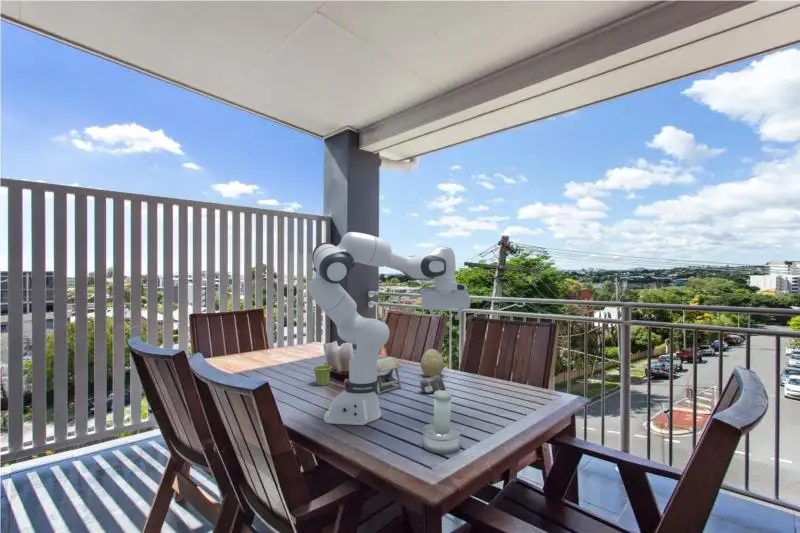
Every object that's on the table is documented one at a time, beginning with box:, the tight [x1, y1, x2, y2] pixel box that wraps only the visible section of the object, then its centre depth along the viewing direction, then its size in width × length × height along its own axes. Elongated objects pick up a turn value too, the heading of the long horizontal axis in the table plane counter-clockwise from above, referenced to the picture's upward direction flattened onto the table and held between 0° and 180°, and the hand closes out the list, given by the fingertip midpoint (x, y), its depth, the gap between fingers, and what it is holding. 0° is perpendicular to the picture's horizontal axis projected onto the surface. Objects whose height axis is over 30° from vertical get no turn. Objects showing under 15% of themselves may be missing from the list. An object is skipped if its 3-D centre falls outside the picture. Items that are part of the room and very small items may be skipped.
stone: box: [419, 374, 447, 395], centre depth 178 cm, size 14×8×10 cm, turn 129°
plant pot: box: [312, 364, 333, 387], centre depth 193 cm, size 9×9×9 cm
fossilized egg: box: [420, 348, 445, 378], centre depth 205 cm, size 13×13×15 cm
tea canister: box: [432, 390, 453, 434], centre depth 122 cm, size 6×6×12 cm
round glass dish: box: [422, 423, 462, 455], centre depth 123 cm, size 12×12×5 cm
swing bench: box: [377, 356, 402, 396], centre depth 183 cm, size 15×10×15 cm, turn 134°
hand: (445, 319), depth 154 cm, fingers open, 8 cm apart
